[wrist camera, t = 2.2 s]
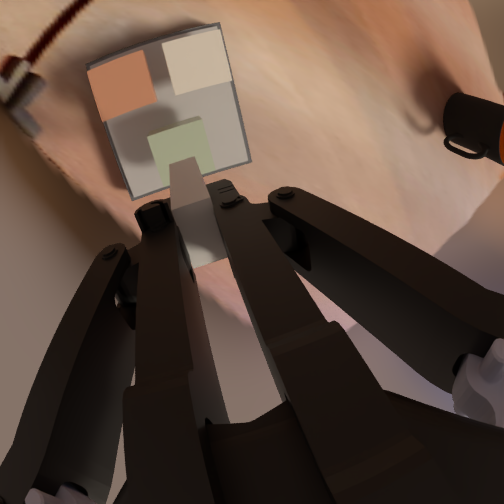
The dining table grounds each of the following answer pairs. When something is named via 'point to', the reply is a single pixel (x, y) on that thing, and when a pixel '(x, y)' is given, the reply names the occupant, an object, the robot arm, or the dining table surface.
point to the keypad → (174, 118)
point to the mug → (475, 127)
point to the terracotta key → (122, 85)
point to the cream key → (196, 61)
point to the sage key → (180, 146)
